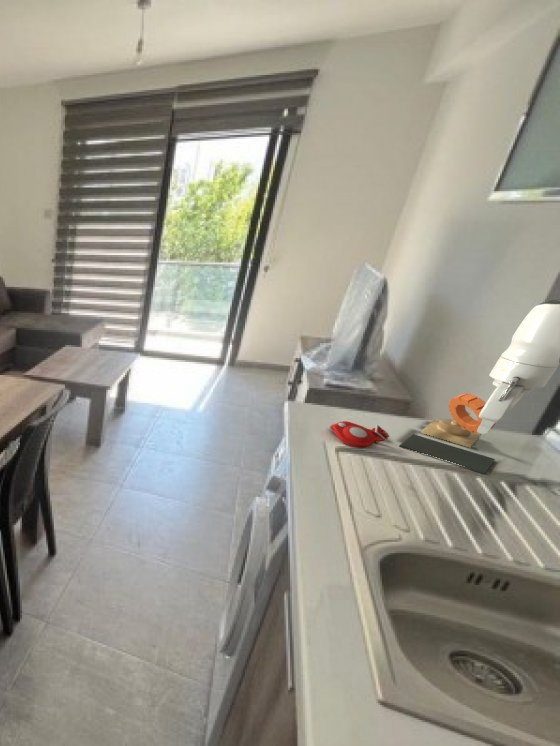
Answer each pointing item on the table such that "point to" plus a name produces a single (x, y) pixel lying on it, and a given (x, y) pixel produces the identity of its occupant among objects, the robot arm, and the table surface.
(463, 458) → the mat
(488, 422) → the robot arm
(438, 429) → the stand
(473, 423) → the ring
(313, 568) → the table surface
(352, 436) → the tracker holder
